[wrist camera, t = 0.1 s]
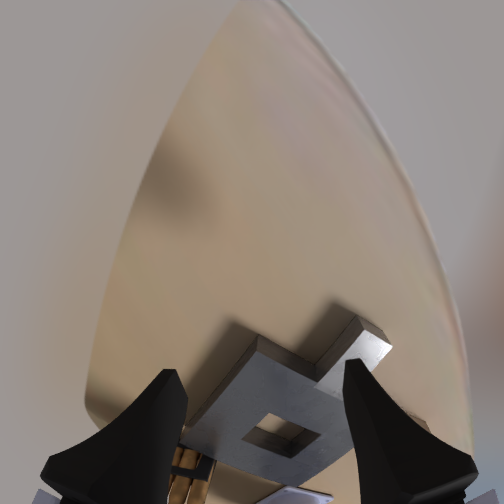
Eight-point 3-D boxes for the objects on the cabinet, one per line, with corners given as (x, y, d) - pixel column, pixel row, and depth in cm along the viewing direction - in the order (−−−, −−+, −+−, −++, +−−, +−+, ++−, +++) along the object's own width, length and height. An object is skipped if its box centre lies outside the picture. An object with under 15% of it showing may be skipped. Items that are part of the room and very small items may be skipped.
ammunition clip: (130, 435, 28) (90, 508, 16) (127, 425, 27) (84, 500, 16) (218, 454, 27) (197, 542, 15) (218, 445, 26) (196, 537, 15)
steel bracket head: (295, 471, 27) (295, 487, 24) (185, 426, 26) (179, 442, 24) (422, 356, 22) (433, 371, 20) (299, 278, 21) (301, 290, 19)
